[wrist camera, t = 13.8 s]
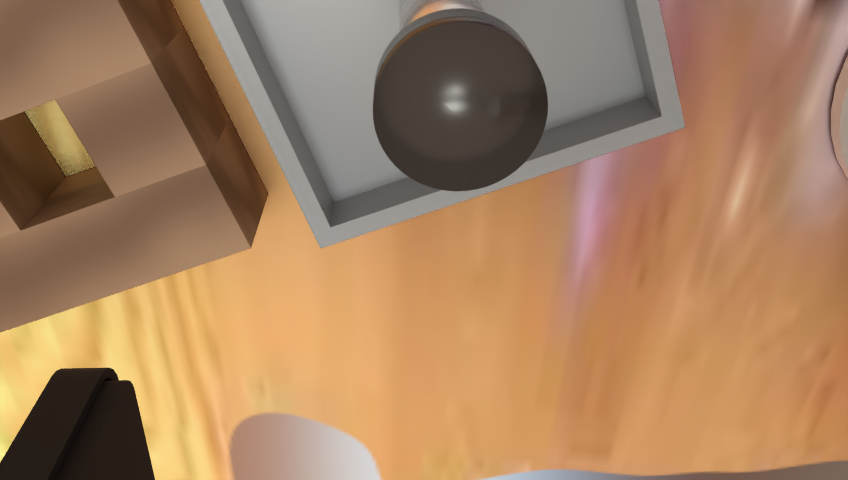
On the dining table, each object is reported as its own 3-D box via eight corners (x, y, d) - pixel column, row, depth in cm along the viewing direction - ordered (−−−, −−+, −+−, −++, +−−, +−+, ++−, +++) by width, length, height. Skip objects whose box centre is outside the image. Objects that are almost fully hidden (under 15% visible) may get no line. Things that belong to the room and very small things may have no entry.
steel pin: (504, 26, 33) (567, 159, 21) (403, 63, 33) (408, 213, 21) (471, -83, 31) (519, -3, 19) (364, -42, 31) (345, 61, 19)
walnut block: (268, 193, 37) (251, 247, 32) (38, 273, 38) (-8, 334, 34) (135, -68, 31) (93, -45, 27) (-127, 38, 33) (-207, 76, 28)
